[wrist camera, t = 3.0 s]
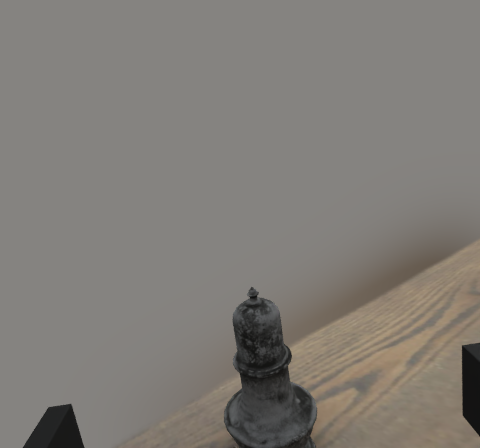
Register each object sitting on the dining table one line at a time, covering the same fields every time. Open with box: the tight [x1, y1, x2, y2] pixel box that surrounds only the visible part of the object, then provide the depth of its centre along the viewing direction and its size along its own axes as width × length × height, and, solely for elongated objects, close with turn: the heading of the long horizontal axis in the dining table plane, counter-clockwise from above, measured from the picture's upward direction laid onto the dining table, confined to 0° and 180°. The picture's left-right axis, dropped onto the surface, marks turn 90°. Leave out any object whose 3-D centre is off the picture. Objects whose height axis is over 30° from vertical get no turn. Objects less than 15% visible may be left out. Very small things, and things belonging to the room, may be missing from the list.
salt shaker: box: [224, 287, 317, 448], centre depth 24 cm, size 6×6×12 cm
